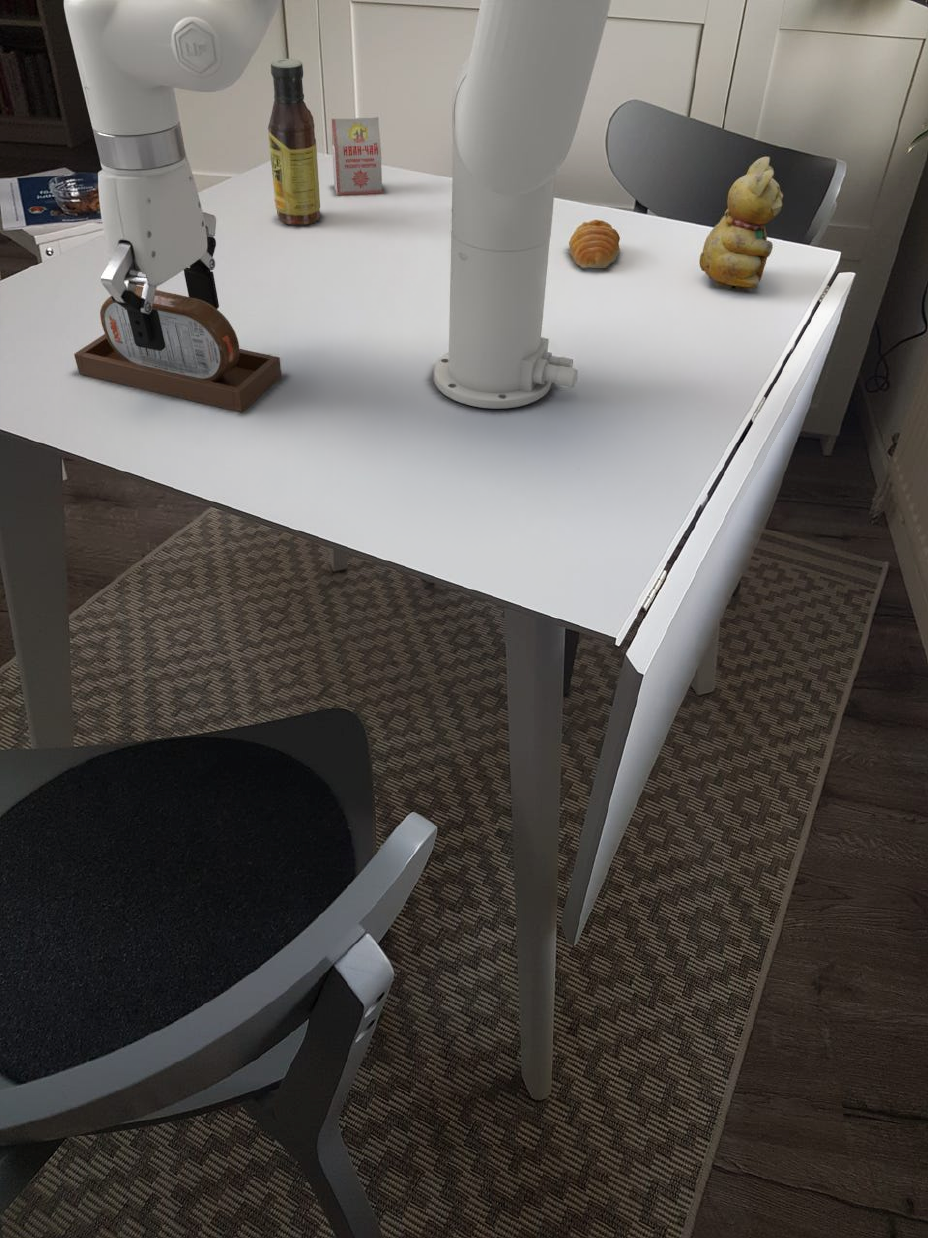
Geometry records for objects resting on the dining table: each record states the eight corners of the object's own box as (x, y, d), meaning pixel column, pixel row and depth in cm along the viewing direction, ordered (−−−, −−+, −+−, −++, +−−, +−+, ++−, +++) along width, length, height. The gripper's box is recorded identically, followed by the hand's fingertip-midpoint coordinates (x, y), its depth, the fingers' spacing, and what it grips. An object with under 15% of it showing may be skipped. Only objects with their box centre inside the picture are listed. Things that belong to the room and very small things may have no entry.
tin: (245, 380, 99) (235, 302, 94) (229, 393, 97) (217, 314, 92) (124, 352, 103) (106, 275, 98) (105, 364, 101) (87, 287, 95)
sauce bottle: (277, 211, 137) (262, 54, 124) (321, 211, 138) (310, 54, 125) (275, 228, 132) (259, 66, 119) (321, 228, 133) (310, 67, 120)
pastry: (619, 274, 124) (623, 245, 122) (567, 271, 125) (570, 242, 122) (617, 247, 131) (621, 218, 129) (568, 244, 131) (571, 216, 129)
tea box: (334, 186, 146) (330, 115, 139) (378, 184, 147) (376, 113, 140) (337, 194, 143) (333, 122, 137) (382, 192, 144) (380, 120, 138)
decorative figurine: (766, 300, 119) (798, 174, 109) (700, 296, 120) (725, 170, 110) (753, 270, 127) (782, 148, 117) (691, 266, 127) (714, 145, 117)
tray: (282, 377, 101) (279, 357, 100) (242, 412, 95) (239, 392, 94) (125, 342, 106) (121, 322, 104) (79, 374, 100) (73, 353, 99)
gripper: (161, 116, 93) (194, 288, 104) (42, 170, 81) (95, 357, 92) (228, 124, 91) (254, 299, 102) (117, 181, 79) (161, 371, 90)
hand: (178, 326), depth 97 cm, fingers open, 9 cm apart
